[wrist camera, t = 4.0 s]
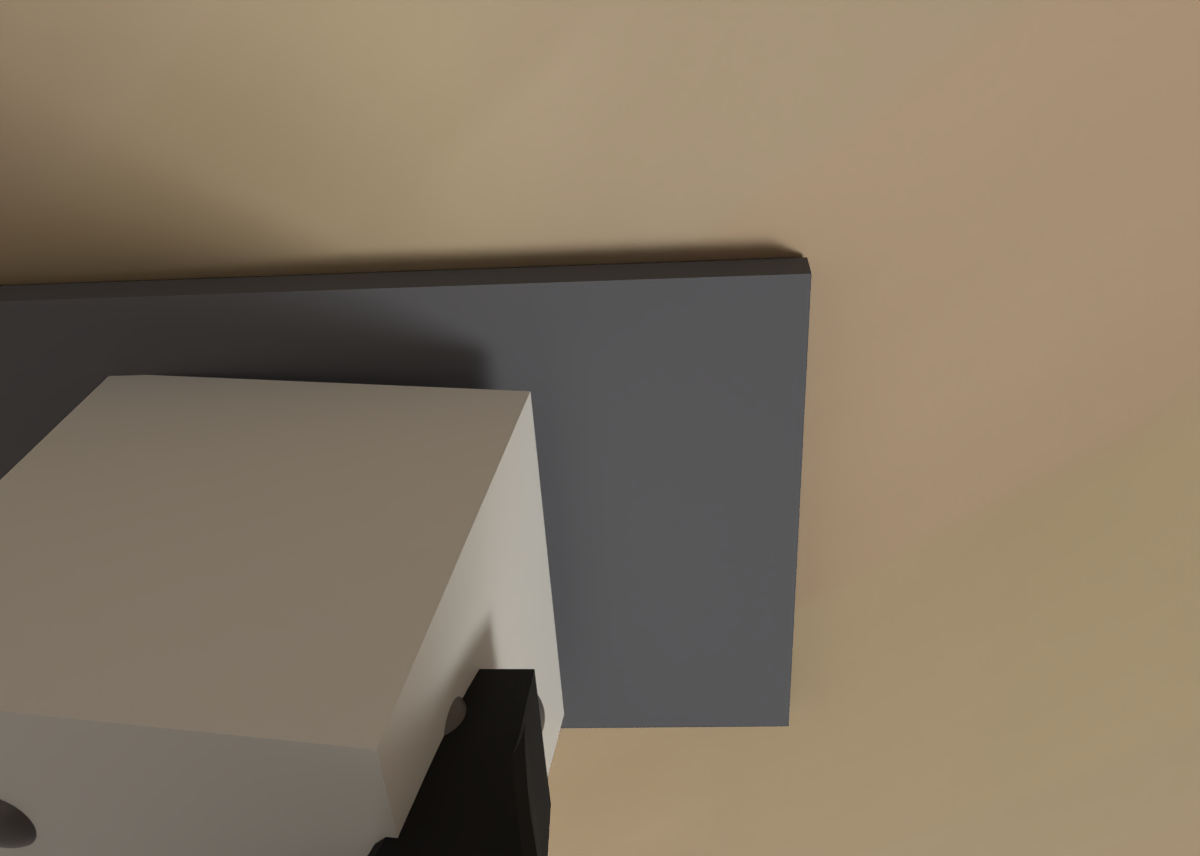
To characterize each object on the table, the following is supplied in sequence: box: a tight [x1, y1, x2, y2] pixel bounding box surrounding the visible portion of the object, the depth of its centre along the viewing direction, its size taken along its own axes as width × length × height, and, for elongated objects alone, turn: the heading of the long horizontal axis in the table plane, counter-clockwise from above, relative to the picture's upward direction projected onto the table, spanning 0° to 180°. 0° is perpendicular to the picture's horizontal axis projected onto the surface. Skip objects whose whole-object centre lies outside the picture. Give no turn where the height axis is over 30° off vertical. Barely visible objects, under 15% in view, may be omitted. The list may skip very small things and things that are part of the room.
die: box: [0, 375, 564, 856], centre depth 12 cm, size 5×5×5 cm
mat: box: [0, 258, 811, 728], centre depth 15 cm, size 7×13×1 cm, turn 93°
